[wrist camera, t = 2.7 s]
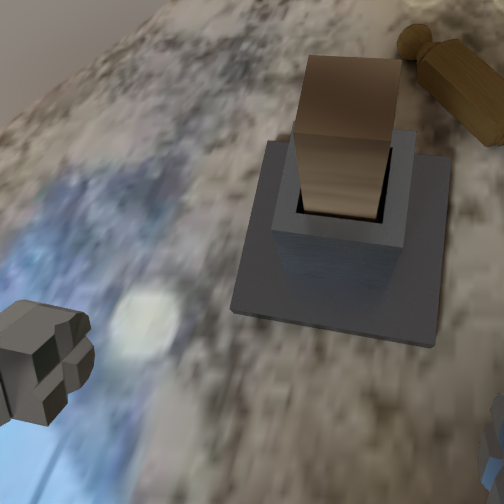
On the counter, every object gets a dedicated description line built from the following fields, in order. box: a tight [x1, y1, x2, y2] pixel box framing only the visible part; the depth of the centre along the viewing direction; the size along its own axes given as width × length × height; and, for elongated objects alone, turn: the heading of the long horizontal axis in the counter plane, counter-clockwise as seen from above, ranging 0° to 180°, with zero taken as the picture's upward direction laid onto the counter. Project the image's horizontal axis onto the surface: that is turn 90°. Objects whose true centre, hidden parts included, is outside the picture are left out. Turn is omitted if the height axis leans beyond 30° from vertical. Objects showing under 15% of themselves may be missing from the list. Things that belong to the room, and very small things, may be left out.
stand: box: [230, 121, 452, 348], centre depth 31 cm, size 14×14×10 cm
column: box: [293, 55, 402, 223], centre depth 27 cm, size 4×4×15 cm
